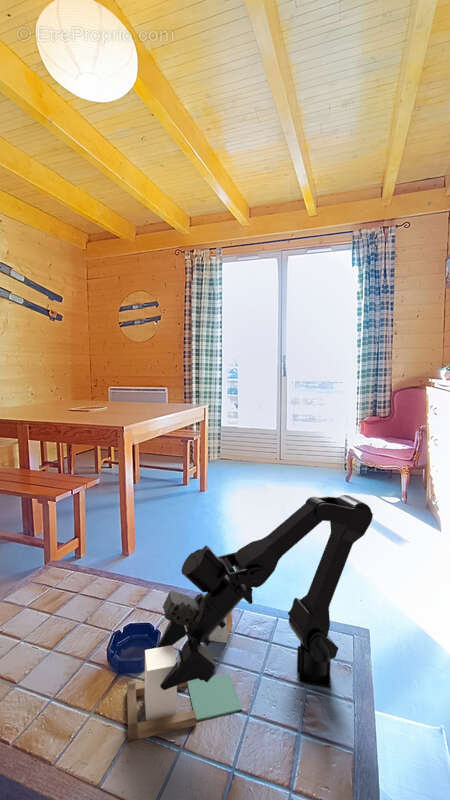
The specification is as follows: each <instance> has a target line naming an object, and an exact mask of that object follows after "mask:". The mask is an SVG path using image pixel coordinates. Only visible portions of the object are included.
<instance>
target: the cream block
mask: <svg viewBox="0 0 450 800" xmlns="http://www.w3.org/2000/svg"><path fill="white" fill-rule="evenodd" d="M176 663H177V658H176V653H175V648H174V644H173V645H171V646H165V647H159V648H157V647H154V648H149V649H145V650H144V681H145V695H144V711H145V712H144V713H145V721H148V720H153V719H157V718H161V717H166V716H170V715H175V714H178V713H177V712H178V711H177V704H178V703H177V702H178V695H177V694H178V688H177V686H174V687H172V688H169V689H166V690H163V689H162V688H161V687H160V685H161V683H162V682H163V680H164V679H165V677H166V676H167V675H168V673H169V672H170V671H171V669H172V668H173V667H174V665H175V664H176Z"/></svg>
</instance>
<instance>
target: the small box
mask: <svg viewBox="0 0 450 800" xmlns="http://www.w3.org/2000/svg"><path fill="white" fill-rule="evenodd" d="M233 611H234V609H233V610H232V611H231V612H230V613H229V615H228V616H227V617H226V618H225V619H224V621H225V623H226V625H225V626H224V628H223V629H222V628H221V627H220V626H218V627H217V628H216V629H215V631H214V632H213V633H212V634H211V635H210V636H209V637H210V640H211V642H216V643H217V642H219V643H222V644H223V643H224V644H227V643H228V639H229V637H230V636H229V635H230V632H231V629H232V625H233Z"/></svg>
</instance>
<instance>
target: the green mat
mask: <svg viewBox="0 0 450 800" xmlns="http://www.w3.org/2000/svg"><path fill="white" fill-rule="evenodd" d="M187 689H188V694H189V697H190V701H191V707H192V710H195V713H196V722H198V721H202V720H206V719H211V718H214V717H219V716H223V715H228V714H231V713H235V712H240V711H243V708H242V705H241V703H240V700H239V697H238V694H237V692H236V689H235V686H234V684H233V681H232V678H231V676H230V673H228V672H227V673H223V674H217V675H213V677H212V678H211V679H210V680H209V681H208V682H207V683H206V682H205V681H204V680H202V681H201V680H200V679H195V680H191V681H188V686H187Z"/></svg>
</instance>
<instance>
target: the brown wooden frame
mask: <svg viewBox="0 0 450 800" xmlns="http://www.w3.org/2000/svg"><path fill="white" fill-rule="evenodd" d="M184 687H185V688H186V687H188V682H185V683H182V684H179V685H177V689H179V688H180V689H181V688H184ZM126 693H127V694H126V697H127V698H126V699H127V702H126V703H127V732H128V733H127V737H128V738H127V740H128V742H132V741H137V740H141V739H146V738H149V737H152V736H158V735H162V734H165V733H169V732H174V731H178V730H183V729H187V728H190V727H191V728H192V727H195V726H197V721H196V713H195V710H193V709H192V710H189V711H183V712H179V713H177V714H175V715H170V716H166V717H161V718H157V719H153V720H148V721H146V720H145V721H141V722H138V708H137V707H138V705H137V704H138V703H137V697H141V696H145V680H144V681H140V682H135V683H129V684H127V685H126Z"/></svg>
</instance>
